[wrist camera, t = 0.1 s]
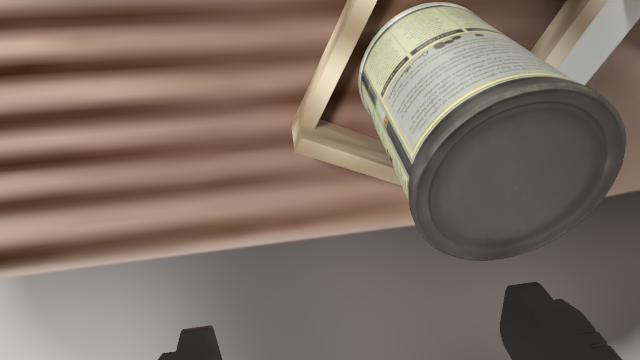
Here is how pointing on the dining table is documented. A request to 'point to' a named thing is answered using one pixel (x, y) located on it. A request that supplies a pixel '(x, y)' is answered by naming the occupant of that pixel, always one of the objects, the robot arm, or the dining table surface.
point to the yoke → (307, 125)
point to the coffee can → (486, 133)
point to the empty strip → (600, 39)
